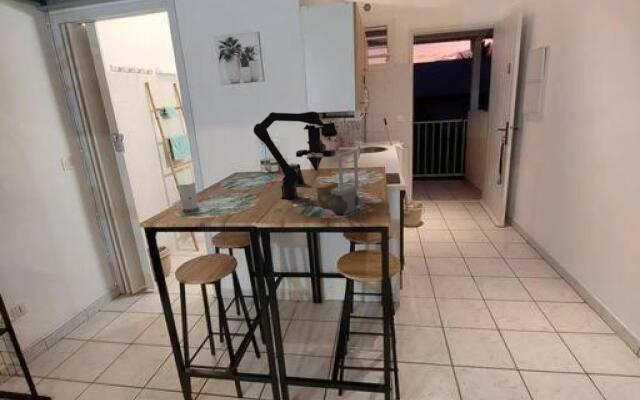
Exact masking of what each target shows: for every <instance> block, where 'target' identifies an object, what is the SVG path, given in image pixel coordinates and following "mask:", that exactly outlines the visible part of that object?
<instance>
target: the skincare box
mask: <svg viewBox="0 0 640 400" xmlns="http://www.w3.org/2000/svg"><path fill="white" fill-rule="evenodd" d="M178 186H179V192H180V199H181V204H182V205H181V207H182V209H183V210H191V209H192V210H195V209H197V208H199V203H198V196H197V194H198V193H197V189H196V182H190V181H188V182H182V183H180V184H178ZM194 208H195V209H194Z"/></svg>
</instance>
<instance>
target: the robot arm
mask: <svg viewBox="0 0 640 400" xmlns="http://www.w3.org/2000/svg"><path fill="white" fill-rule="evenodd" d="M274 122H299V123H305V126H304V127H303V130H304V131H305V130H307V136H308V137H307V138H308V141H307V142H306V143H307V145H308V149H300V150H296V152H295V157H296V158H302V157H303V156H306V159H307V160H308V161H309V162H310V164H311V165H312V167H313V170H314V171H315V172H318V171H319V169H320V164H321V161H322V159H323V158H332V157H334V156H336V150H335V149H330V148H329V149H327V144H325V143H323V140H322V139H321V137H323V138H324V139H325V138H335V137H337V129H336V126H335V125H336V124H335V122H333V121H332V122H327V123H325V122H323V121H322V120H321V117H320V115H319V113H318V112H317V111H312V110H311V111H307V112H305V111H304V112H300V113H298V112H297V113H295V112H293V113H292V112H274V111H272V112H270V113H269V114H268V115H267V116H266V117H265V118H264V119H263V120H262V121H261V122H258V123H256V124H255V125H254V126H253V129H252V131H253V133H254V135H255V136H256V137H257V138H258V139H259V140H260V141H261V142H262V143H263V144H264V145H265V147H267V149H268V150H269V152H270V153H271V155H272V157H273V158H274V160H275V161H276V162H277V164H278V166H279V167H280V169H281V171H282V174H283V175H284V177H283V178H282V179H281V184H282V185H280V186H281V197H280V200H281V199H283V200H293V199H295V198H297V197H298V196H299V195H298V190H297V188H298V187H296V186H295V185H294V184H295V182H296V181H297V180H298V175H297V173H298V172H297V170H295V168H294V167H293V164H294V163H291V164H292V165H291V166H290V165H289V164H290V163H288V162H287V161H286V159H285V157H284V155H282V153H281V152H280V150H279V148H277V146H276V144H275V143H274V141H273V140H272V138H271V136H270V133H269V132H268V129H269V128H270V126H271V125H272V124H273V123H274ZM308 124H310V125H308ZM316 125H317V126H316Z"/></svg>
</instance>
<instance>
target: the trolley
mask: <svg viewBox="0 0 640 400" xmlns="http://www.w3.org/2000/svg"><path fill="white" fill-rule="evenodd" d="M350 155H353V169H354V171H353V172H354V173H353V175H354V183H353V184H352V183H345V184H344V178H343V177H344V175H343V159H342V158H343V157H346V156H350ZM337 162H338V163H337V164H338V179H339V180H338V181H339V182H338V187H337V188H334V189H332V190H331V194H336V195H339V197H336V198H333V199H332V201H331V209H330V210H331V211H332V212H333V214H336V215H342V214H343V216H345V214H346V215H347V213H348V214H349V212H350V213H352V212H354V211H356V210H357V209H358V206H359V204H360V198H359V195H358V194H357V190H358V189H359V168H358V167H359V166H358V165H359V164H358V151H357V149H352V150H349V151H346V152H341V153H338V155H337ZM353 210H354V211H353ZM351 211H352V212H351Z"/></svg>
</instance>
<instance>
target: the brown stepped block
mask: <svg viewBox="0 0 640 400" xmlns="http://www.w3.org/2000/svg"><path fill="white" fill-rule="evenodd" d="M337 187H339V182H334V181H330V182H327V183H324V184H321V185H319V186H316V195H317V196H315V197H314V198H310V199H309V206H314V207H318V208H319V207H320V208H324V209H329V210H332V209H331V201H332V199H333V198H336V197H339V195H336V194H331V190H332V189H334V188H337Z"/></svg>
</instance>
